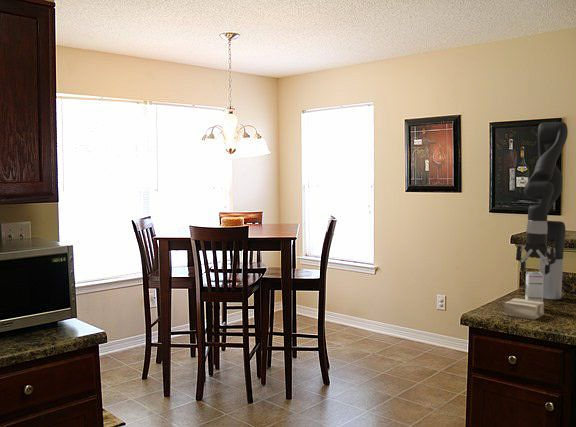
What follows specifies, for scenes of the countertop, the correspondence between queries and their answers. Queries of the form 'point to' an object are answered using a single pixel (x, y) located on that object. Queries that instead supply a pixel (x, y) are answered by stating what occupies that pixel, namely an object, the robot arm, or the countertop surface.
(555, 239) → the robot arm
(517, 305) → the maple block
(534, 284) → the syrup box
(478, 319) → the countertop surface
